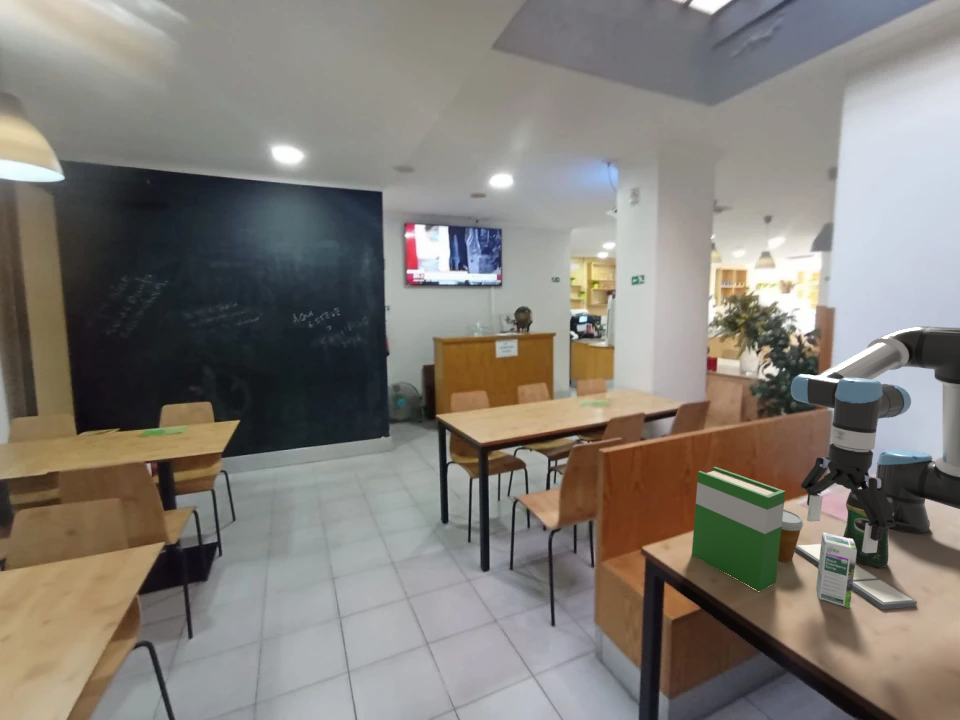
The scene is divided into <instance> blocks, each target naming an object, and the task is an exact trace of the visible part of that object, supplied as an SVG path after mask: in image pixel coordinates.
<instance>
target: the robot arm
mask: <svg viewBox="0 0 960 720" xmlns="http://www.w3.org/2000/svg"><path fill="white" fill-rule="evenodd" d="M904 367H905V368H906V367H907V368H908V367H909V368H918V369H919V368H920V369H921V368H922V369H928V370H933V371H934V372H933V373H934V379H935V380H936V381H938V383H941V384H942V456H941V457H939V458H937V459H936V460H935V461H934V460H933V456H932V455H931V454H929V453H926V452H923V451H918V450H910V449H897V448H896V449H893V448H892V449H884V450H882V451H881V452H880V453H879V456H878V460H877V463H876V464H877V465H876V472H875V473H876V475H875V476H870V475H869V470H870V468H871V467H872V464H873V458H874V452H873V451H872V450H874V449H875V446H876V445H875V444H876V437H877V428H878V427H877V426H878V421H879V419H886V418H887V419H888V418H895V417H897V416H901V415H903V414H905V413H906V412H907V411H908V410H909V409H910V407H911V404H912V398H911V395H910V394H909V391H907V390H906V389H905V388H903V387H901V386H899V385H897V384H887V383H883V384H882V383H881V381H880V380H879V381H878V380H877V379H876V380H875V378H877V377H880V376H881V375H883V374H884V373H885V372H887V371H892V370H894V371H895V370H898V369H901V368H904ZM790 395H791V396H792V398H793V400H795V401H798V402H801V403H805V404H807V405H814V406H819V407H822V408H823V407H824V408H827V409H828V408H830V409H834V411H833V418H832V424H831V430H830V431H831V433H830V442H831V444H829V447H828V454H827V456H825V457H816V459H815V463H814V466H813V467H812V468H811V470H810V471H809V473H808V474H807V476H805V478H804V479H803V481H802V482H801V483H800V487H801V489H804V490H805V491H806V493H807V500H806V505H807V506H808V510H807V517H806V518H807V519H806V520H807V522H820V519H821V514H822V513H821V511H822V505H823V504H822V503H823V495H821V494H822V492H823V491H826V490H827V489H828V488H830V487H831V486H833V485H834V484H836V485H838V486H839V485H840V486H842V487H844V488H845V489H847V490H850V491H852V493H853V494H855V495H856V497H857V499H858V501H859V503H860V504H861V506H862V508H863V510H864V512H865V514H866V516H867V518H868V519H869V521H870V523H866V526H865V533H864V540H863V547H862V552H864V553H876V552H877V545H878V541H880V540H881V539H882V534H883V528H884V527H889V528H890V529H892V530H896V531H900V532H906V533H913V534H925V533H928V532H930V526H931V522H930V520H929V517H928V511H927V509H926V508H927V507H926V504H925V503H926V500H929V501H932V502H934V503H937V504H938V503H939V504H942V505H945V506H948V507H952V508H955V509H957V510H960V327H946V326H945V327H943V326H923V325H922V326H915V327H909V328H908V327H907V328H904V329H900V330H896V331H894V332H893V331H892V332H889V333H886V334H885V335H881V336H880V337H877V338H876V339H874V340H872V341H870V342H869V343H868V345H867V347H866V348H865V349H863V350H861V351H859V352H857V353H856V354H854V355H852V356H850V357H848V358H846V359H844V360H843V361H841V362H839V363H837V364H835V365H833V366H831V367H829V368H828V369H826V370H824V371H821V372H820V373H818V374H817V375H813V374H808V373H807V374H803V373H801V374H798V375H796V376H795V377H794V378H793V380H792V381H791V385H790ZM827 469H828V471H829V472H828V473H827V474H825V473H826V472H827ZM824 474H825V475H824ZM822 477H823V478H822ZM821 478H822V479H821ZM887 497H889V498H891V499H892V500H893V507H894V516H893V515H892V512H891V508H890V505H889V502H888V499H887ZM876 519H877V520H876Z"/></svg>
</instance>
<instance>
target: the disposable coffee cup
mask: <svg viewBox="0 0 960 720" xmlns="http://www.w3.org/2000/svg"><path fill="white" fill-rule="evenodd" d="M804 524H805V523H804V522H803V518H802V517H801V516H800V515H798V514H797V513H795V512H793V511H791V510H787V509H785V508H784V509H783V519H782V528H781V537H780V547H779V556H778V563H779V562H780V563H791V562H792V561H793V559H794V555H795V552H796V551H795V548H796V545H797V543H798V541H799V537H800V533H801V531H802V529H803V527H804V526H805V525H804Z"/></svg>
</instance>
